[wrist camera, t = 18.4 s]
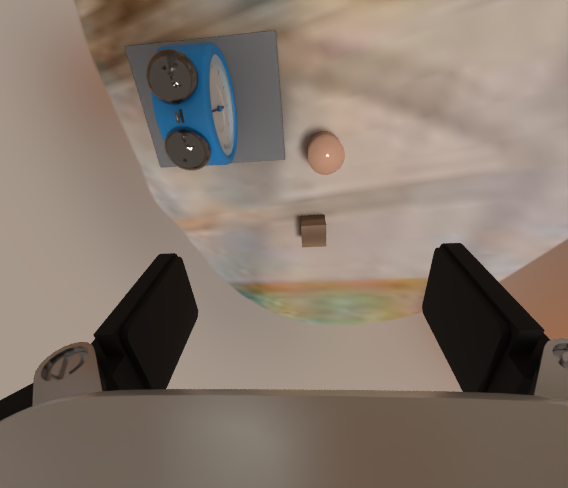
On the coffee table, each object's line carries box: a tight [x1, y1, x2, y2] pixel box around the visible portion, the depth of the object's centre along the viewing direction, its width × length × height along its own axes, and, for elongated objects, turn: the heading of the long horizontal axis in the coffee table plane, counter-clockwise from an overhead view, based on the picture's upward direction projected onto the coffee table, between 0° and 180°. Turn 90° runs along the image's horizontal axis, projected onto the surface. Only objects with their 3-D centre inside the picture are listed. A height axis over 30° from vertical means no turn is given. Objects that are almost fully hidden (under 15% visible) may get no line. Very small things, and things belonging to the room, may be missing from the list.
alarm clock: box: [146, 43, 237, 170], centre depth 34 cm, size 13×6×15 cm, turn 3°
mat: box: [125, 31, 285, 167], centre depth 41 cm, size 16×20×1 cm
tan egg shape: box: [308, 132, 345, 175], centre depth 41 cm, size 5×5×5 cm
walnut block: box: [301, 215, 326, 247], centre depth 48 cm, size 4×4×4 cm
